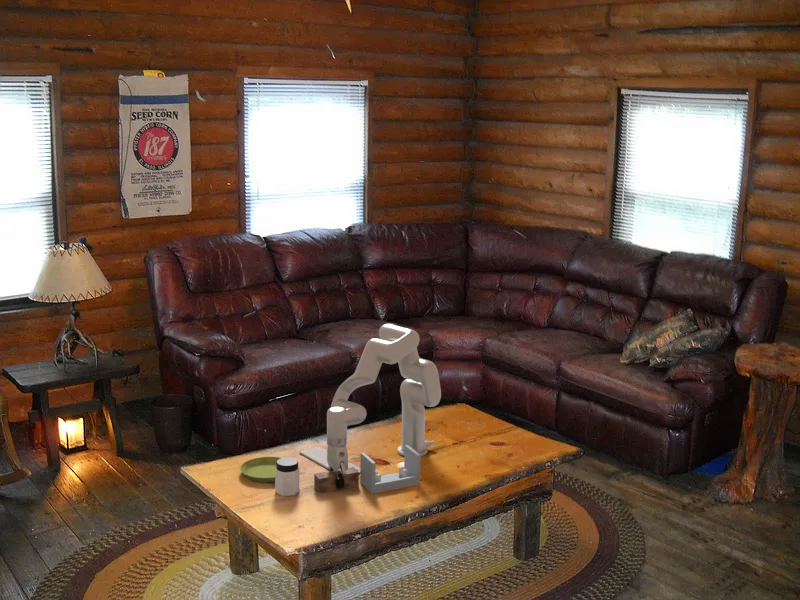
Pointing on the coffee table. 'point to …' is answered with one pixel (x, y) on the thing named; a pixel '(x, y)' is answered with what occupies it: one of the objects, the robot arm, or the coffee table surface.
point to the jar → (287, 476)
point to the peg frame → (404, 478)
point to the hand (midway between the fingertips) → (336, 484)
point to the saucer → (260, 469)
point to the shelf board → (328, 480)
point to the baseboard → (321, 457)
